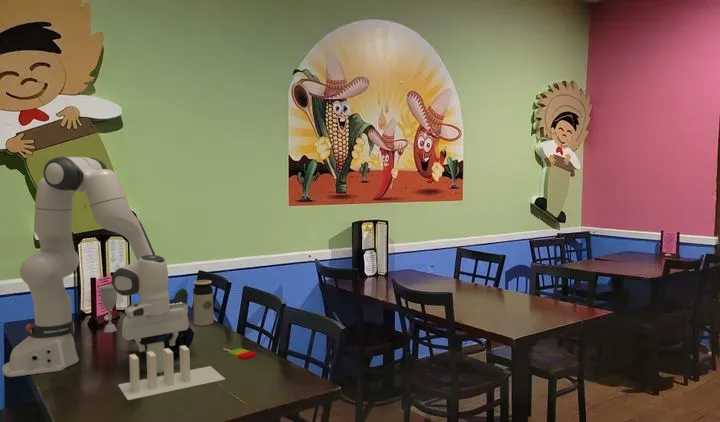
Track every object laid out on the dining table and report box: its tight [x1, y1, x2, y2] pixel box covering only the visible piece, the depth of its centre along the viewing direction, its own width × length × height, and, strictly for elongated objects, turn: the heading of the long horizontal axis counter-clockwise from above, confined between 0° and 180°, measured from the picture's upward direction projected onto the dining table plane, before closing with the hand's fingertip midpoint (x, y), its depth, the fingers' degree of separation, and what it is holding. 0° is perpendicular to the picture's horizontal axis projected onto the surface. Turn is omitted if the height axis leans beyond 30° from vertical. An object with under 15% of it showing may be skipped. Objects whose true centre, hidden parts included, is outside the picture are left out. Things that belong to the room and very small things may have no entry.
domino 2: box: [146, 341, 164, 374], centre depth 187 cm, size 2×5×10 cm, turn 124°
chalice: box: [99, 284, 118, 333], centre depth 234 cm, size 7×7×18 cm
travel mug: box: [192, 279, 214, 327], centre depth 245 cm, size 8×8×18 cm
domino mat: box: [117, 365, 226, 401], centre depth 179 cm, size 29×14×1 cm, turn 124°
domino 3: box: [146, 351, 158, 389], centre depth 175 cm, size 2×5×10 cm, turn 34°
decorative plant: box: [129, 288, 195, 356], centre depth 210 cm, size 21×26×30 cm
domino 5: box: [179, 345, 191, 382], centre depth 181 cm, size 2×5×10 cm, turn 34°
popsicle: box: [222, 347, 257, 361], centre depth 206 cm, size 6×15×2 cm, turn 52°
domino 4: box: [163, 348, 175, 385], centre depth 178 cm, size 2×5×10 cm, turn 33°
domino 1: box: [128, 353, 140, 393], centre depth 172 cm, size 2×5×10 cm, turn 33°
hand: (157, 348), depth 186 cm, fingers open, 8 cm apart
